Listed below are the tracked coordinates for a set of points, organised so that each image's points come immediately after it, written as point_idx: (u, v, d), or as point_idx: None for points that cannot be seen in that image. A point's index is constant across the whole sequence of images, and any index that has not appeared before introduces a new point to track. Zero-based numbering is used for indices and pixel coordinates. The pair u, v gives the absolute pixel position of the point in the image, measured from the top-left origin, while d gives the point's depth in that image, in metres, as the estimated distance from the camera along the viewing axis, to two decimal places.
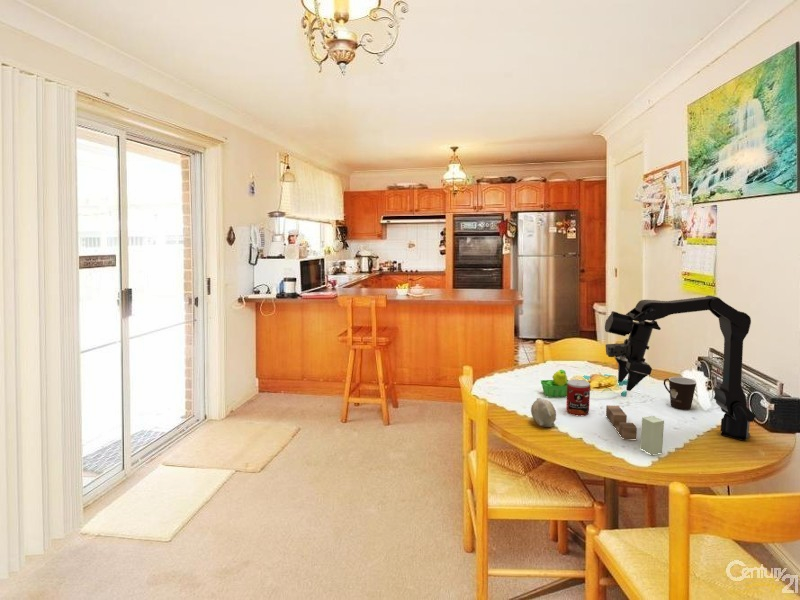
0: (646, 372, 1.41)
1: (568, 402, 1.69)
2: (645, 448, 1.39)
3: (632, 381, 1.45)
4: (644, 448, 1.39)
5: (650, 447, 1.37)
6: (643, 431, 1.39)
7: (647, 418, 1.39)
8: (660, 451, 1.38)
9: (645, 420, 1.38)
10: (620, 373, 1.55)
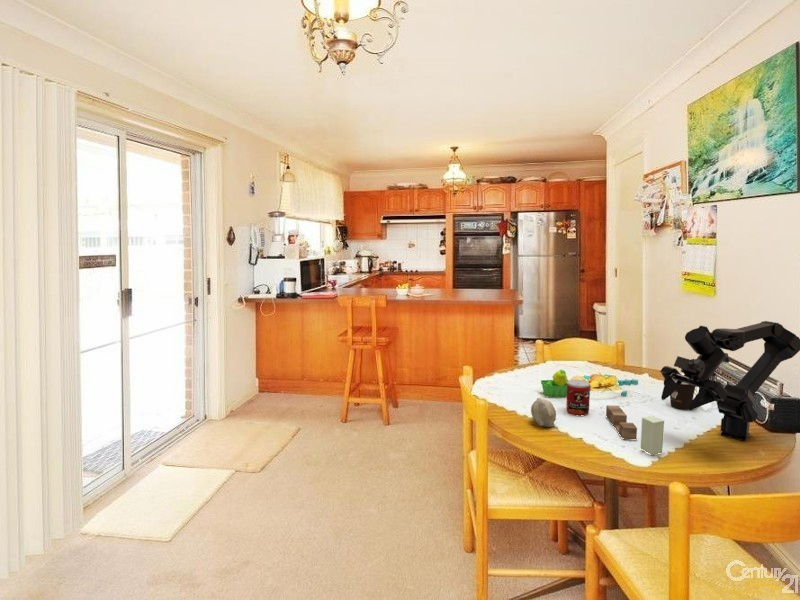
0: (723, 397, 1.32)
1: (568, 402, 1.69)
2: (645, 448, 1.39)
3: (699, 401, 1.35)
4: (644, 448, 1.39)
5: (650, 447, 1.37)
6: (643, 431, 1.39)
7: (647, 418, 1.39)
8: (660, 451, 1.38)
9: (645, 420, 1.38)
10: (666, 390, 1.45)
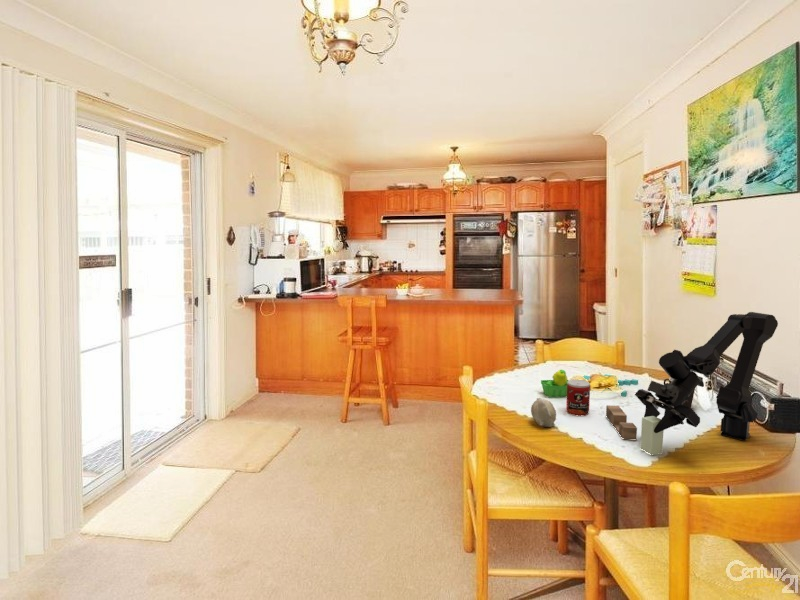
0: (696, 423, 1.31)
1: (568, 402, 1.69)
2: (645, 448, 1.39)
3: (665, 424, 1.35)
4: (644, 448, 1.39)
5: (650, 447, 1.37)
6: (643, 431, 1.39)
7: (647, 418, 1.39)
8: (660, 451, 1.38)
9: (645, 420, 1.38)
10: None
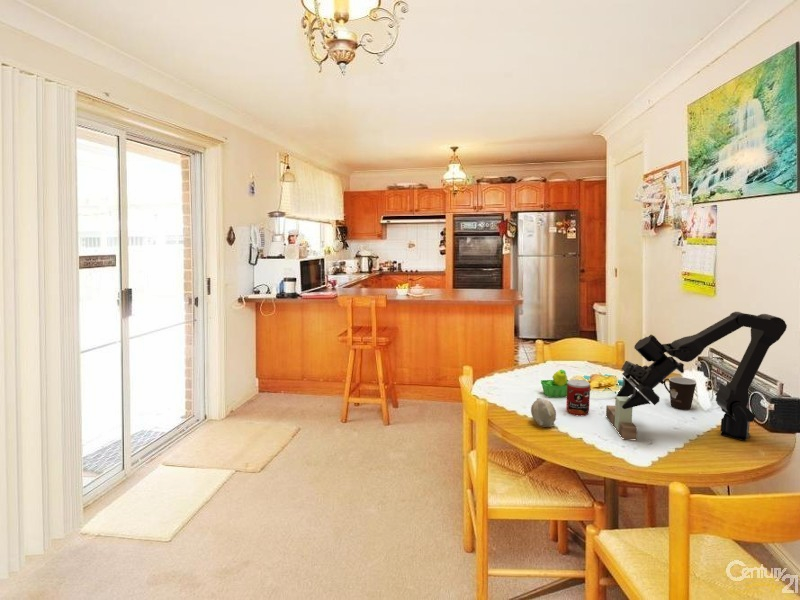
0: (653, 401, 1.42)
1: (568, 402, 1.69)
2: (616, 424, 1.54)
3: (632, 402, 1.48)
4: (615, 424, 1.55)
5: (617, 423, 1.52)
6: (615, 408, 1.55)
7: (619, 397, 1.54)
8: None
9: (616, 398, 1.54)
10: (621, 392, 1.56)
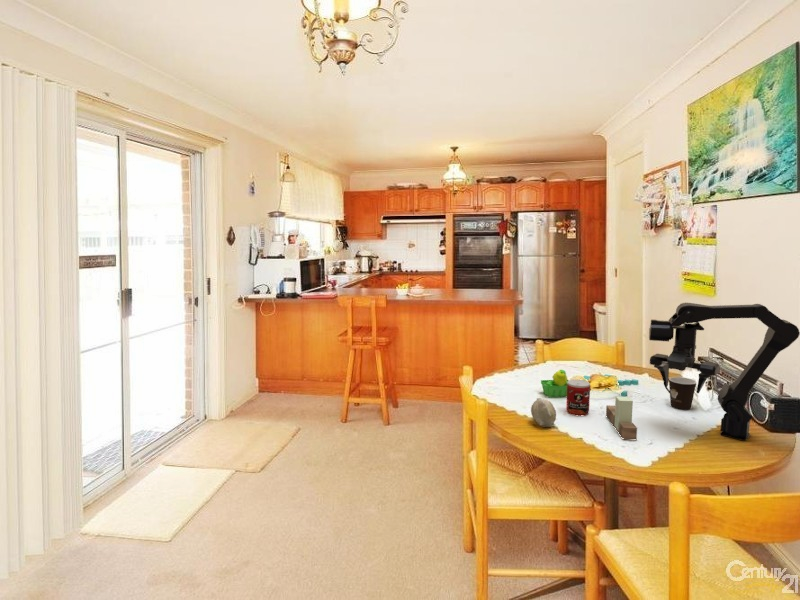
0: (718, 370, 1.47)
1: (568, 402, 1.69)
2: (616, 424, 1.54)
3: (702, 383, 1.49)
4: (615, 424, 1.55)
5: (617, 423, 1.52)
6: (615, 408, 1.55)
7: (619, 397, 1.54)
8: None
9: (616, 398, 1.54)
10: (666, 378, 1.56)
